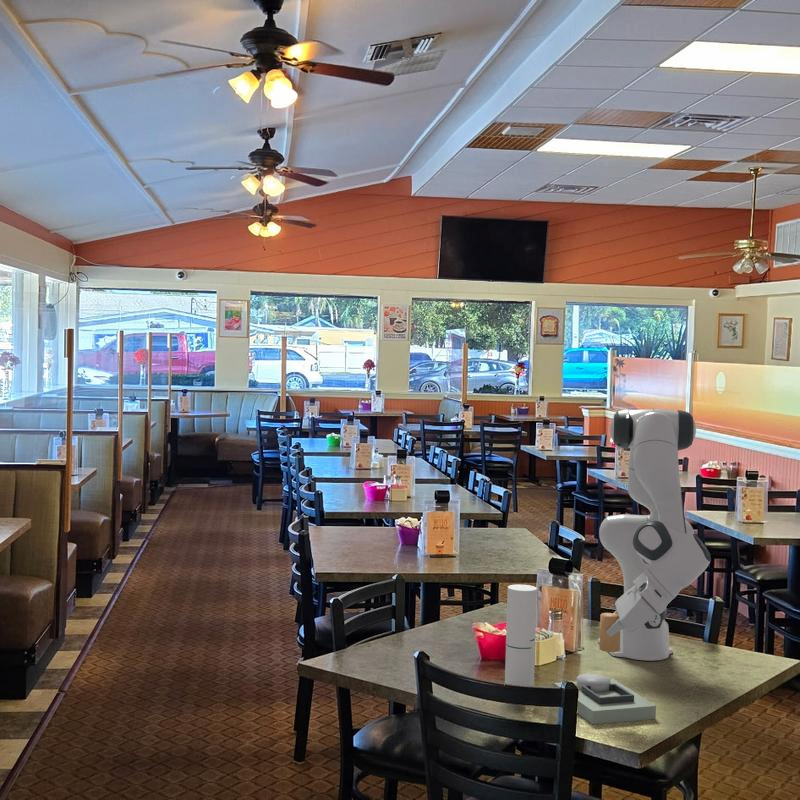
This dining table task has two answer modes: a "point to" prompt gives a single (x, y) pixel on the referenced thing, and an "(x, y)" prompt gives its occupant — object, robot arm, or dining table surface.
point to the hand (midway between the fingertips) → (607, 630)
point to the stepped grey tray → (610, 701)
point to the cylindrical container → (520, 635)
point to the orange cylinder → (605, 640)
